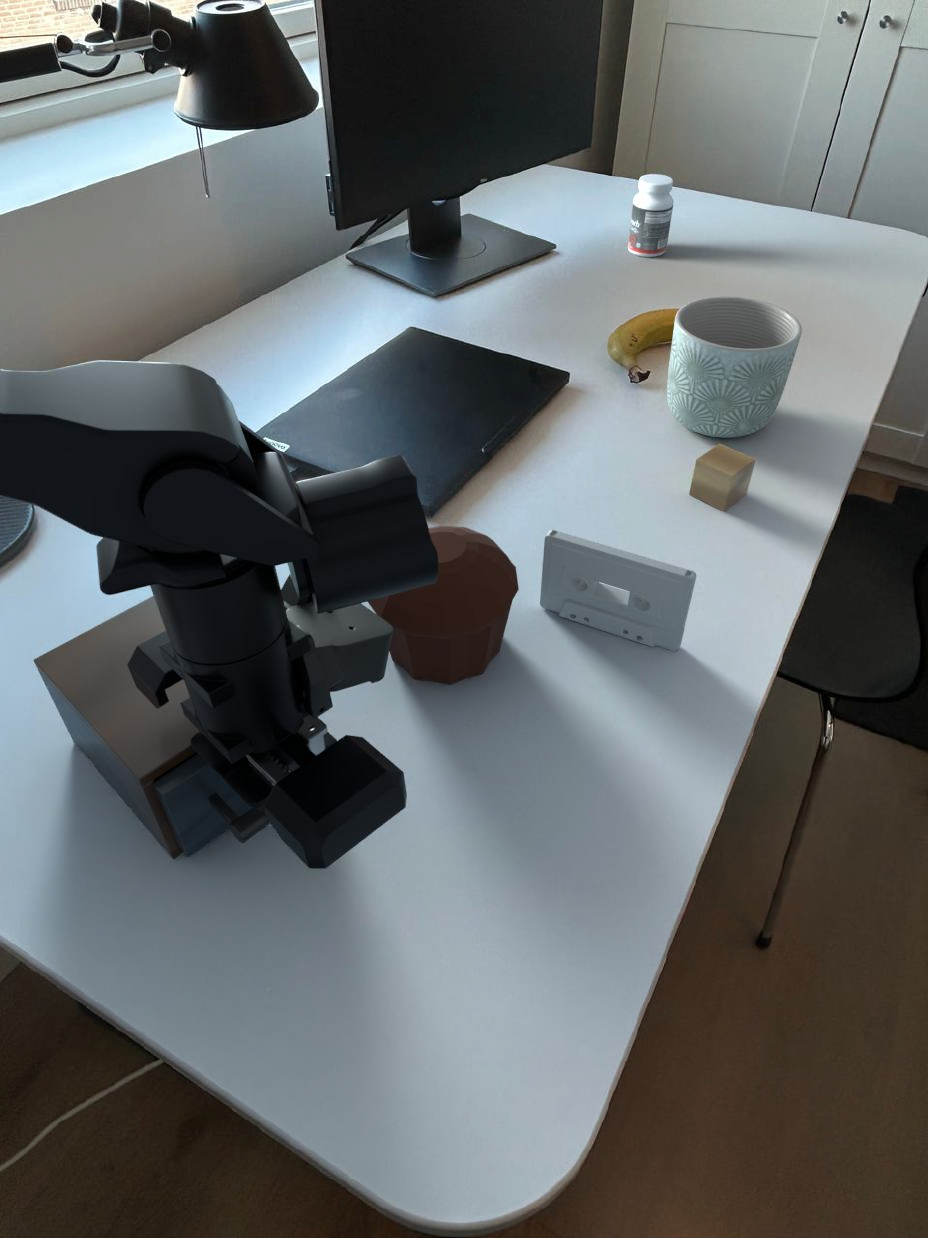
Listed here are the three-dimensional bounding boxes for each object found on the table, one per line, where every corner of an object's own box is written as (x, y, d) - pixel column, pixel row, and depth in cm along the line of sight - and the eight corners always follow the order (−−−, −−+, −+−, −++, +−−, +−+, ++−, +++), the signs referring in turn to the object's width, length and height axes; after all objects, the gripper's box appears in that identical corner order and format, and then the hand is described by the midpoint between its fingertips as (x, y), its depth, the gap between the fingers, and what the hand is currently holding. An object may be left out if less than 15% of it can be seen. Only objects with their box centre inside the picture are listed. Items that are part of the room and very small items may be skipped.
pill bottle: (623, 243, 132) (632, 172, 125) (661, 242, 132) (671, 171, 125) (631, 258, 128) (640, 186, 121) (670, 257, 128) (681, 184, 121)
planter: (635, 413, 96) (649, 317, 89) (709, 378, 102) (728, 285, 94) (725, 462, 89) (749, 363, 82) (799, 422, 95) (828, 325, 87)
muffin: (452, 578, 76) (451, 482, 69) (545, 644, 70) (553, 547, 63) (342, 643, 71) (329, 546, 64) (433, 722, 65) (428, 624, 58)
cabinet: (317, 757, 62) (300, 675, 56) (173, 860, 56) (138, 779, 50) (210, 660, 69) (186, 577, 63) (73, 742, 63) (32, 659, 58)
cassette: (536, 610, 73) (541, 537, 68) (545, 597, 74) (550, 524, 69) (676, 656, 69) (693, 583, 64) (683, 641, 71) (700, 568, 65)
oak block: (723, 511, 83) (732, 476, 80) (688, 494, 85) (695, 459, 82) (746, 494, 85) (756, 459, 82) (711, 477, 87) (719, 442, 84)
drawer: (355, 797, 59) (345, 733, 54) (223, 898, 53) (199, 836, 49) (218, 671, 67) (199, 605, 63) (92, 747, 62) (61, 682, 57)
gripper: (478, 633, 42) (487, 829, 52) (261, 489, 53) (304, 675, 63) (285, 764, 36) (338, 954, 47) (86, 573, 47) (165, 762, 57)
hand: (285, 817), depth 53 cm, fingers closed, pressing on drawer
